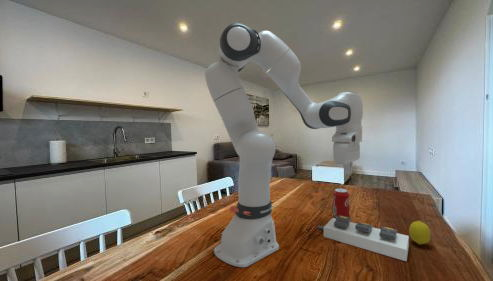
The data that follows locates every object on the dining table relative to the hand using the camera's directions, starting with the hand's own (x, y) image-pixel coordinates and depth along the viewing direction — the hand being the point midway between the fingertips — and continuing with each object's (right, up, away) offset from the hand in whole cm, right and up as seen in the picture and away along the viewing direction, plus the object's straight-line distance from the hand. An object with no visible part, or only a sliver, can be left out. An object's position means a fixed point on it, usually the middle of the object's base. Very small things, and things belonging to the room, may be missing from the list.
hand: (347, 173), depth 80 cm
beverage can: (+4, -21, +13) cm, 25 cm away
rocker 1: (-3, -17, -2) cm, 18 cm away
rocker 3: (+8, -17, -11) cm, 22 cm away
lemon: (+19, -22, -10) cm, 31 cm away
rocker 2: (+2, -17, -7) cm, 19 cm away
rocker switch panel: (+1, -22, -5) cm, 23 cm away
